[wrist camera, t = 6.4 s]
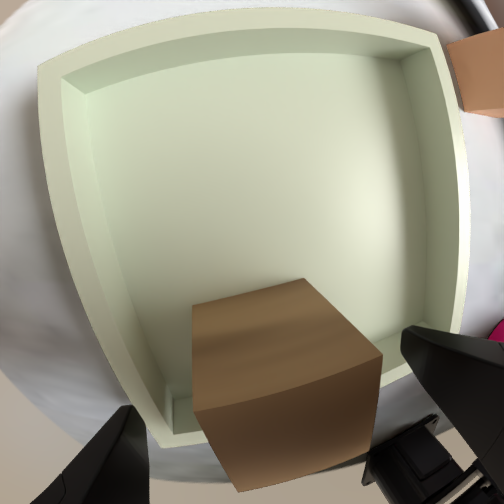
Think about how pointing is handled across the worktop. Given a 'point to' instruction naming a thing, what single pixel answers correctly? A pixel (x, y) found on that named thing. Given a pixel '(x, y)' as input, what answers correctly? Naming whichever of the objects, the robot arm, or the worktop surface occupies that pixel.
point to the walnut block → (282, 384)
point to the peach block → (480, 72)
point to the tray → (254, 183)
